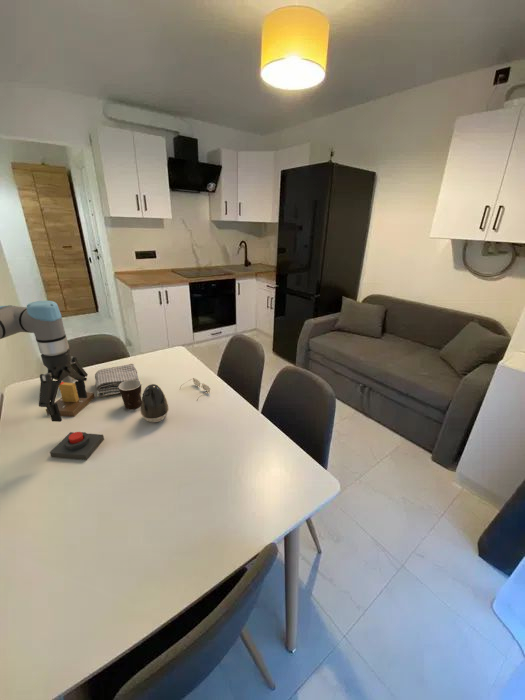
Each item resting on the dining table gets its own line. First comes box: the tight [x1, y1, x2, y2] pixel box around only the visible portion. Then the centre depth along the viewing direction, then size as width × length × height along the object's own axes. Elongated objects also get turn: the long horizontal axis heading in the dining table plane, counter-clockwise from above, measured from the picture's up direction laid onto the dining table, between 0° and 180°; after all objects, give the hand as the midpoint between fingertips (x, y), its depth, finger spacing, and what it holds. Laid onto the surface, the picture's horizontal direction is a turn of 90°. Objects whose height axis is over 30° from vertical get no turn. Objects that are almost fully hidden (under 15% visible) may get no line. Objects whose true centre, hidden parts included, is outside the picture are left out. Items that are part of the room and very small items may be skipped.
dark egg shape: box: [140, 383, 170, 423], centre depth 112 cm, size 10×10×15 cm
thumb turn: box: [58, 381, 79, 402], centre depth 118 cm, size 6×2×8 cm, turn 86°
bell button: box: [69, 431, 84, 444], centre depth 97 cm, size 4×4×2 cm
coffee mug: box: [118, 379, 142, 411], centre depth 119 cm, size 12×9×10 cm
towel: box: [94, 363, 143, 398], centre depth 134 cm, size 15×18×8 cm
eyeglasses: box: [179, 377, 211, 401], centre depth 133 cm, size 14×8×4 cm, turn 49°
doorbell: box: [49, 431, 105, 461], centre depth 98 cm, size 12×10×4 cm
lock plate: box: [45, 391, 96, 418], centre depth 120 cm, size 14×11×3 cm
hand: (70, 408), depth 98 cm, fingers open, 13 cm apart
